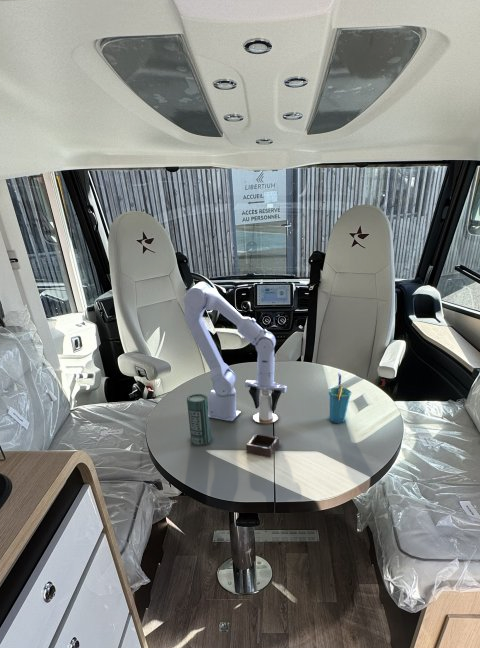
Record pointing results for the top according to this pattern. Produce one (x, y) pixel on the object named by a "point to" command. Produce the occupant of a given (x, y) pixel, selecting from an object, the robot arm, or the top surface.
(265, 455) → the box
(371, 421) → the top surface
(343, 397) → the cup
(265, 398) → the salt shaker
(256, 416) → the coaster
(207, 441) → the can
